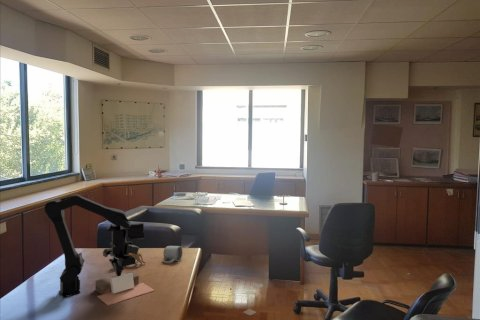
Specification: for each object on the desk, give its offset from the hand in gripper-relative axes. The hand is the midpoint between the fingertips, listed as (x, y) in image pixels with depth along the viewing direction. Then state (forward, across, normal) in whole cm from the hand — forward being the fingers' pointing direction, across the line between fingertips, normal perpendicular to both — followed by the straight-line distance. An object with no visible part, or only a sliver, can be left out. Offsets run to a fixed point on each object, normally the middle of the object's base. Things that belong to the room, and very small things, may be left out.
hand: (118, 276), depth 146 cm
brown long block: (+5, +1, 0) cm, 5 cm away
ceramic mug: (+6, +14, -36) cm, 39 cm away
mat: (+5, -8, 0) cm, 9 cm away
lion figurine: (+5, +22, -16) cm, 27 cm away
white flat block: (+2, -4, 0) cm, 4 cm away
